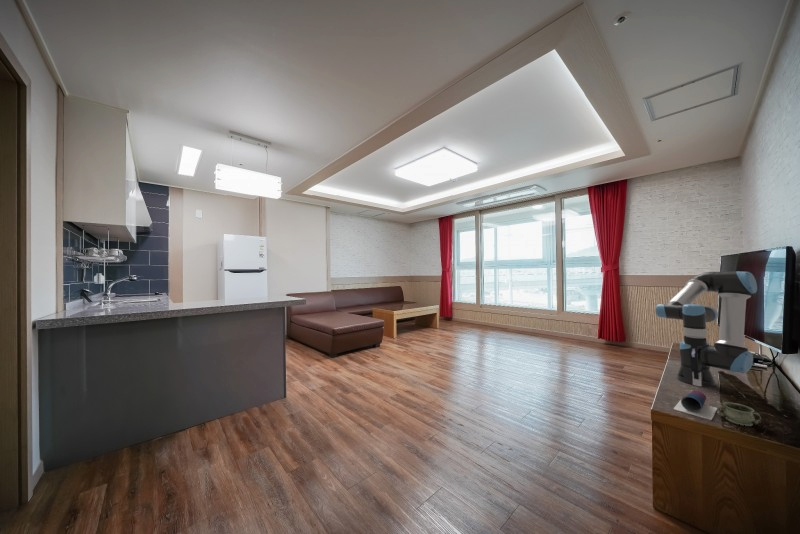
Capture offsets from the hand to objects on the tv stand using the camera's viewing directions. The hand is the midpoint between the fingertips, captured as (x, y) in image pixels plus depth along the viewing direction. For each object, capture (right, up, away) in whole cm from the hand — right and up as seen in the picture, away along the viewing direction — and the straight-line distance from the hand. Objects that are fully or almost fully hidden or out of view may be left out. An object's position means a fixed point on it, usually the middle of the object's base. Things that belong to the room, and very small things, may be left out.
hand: (697, 385), depth 134 cm
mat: (-5, -10, -4) cm, 12 cm away
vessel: (+2, -9, -15) cm, 18 cm away
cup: (+2, -6, +1) cm, 7 cm away
